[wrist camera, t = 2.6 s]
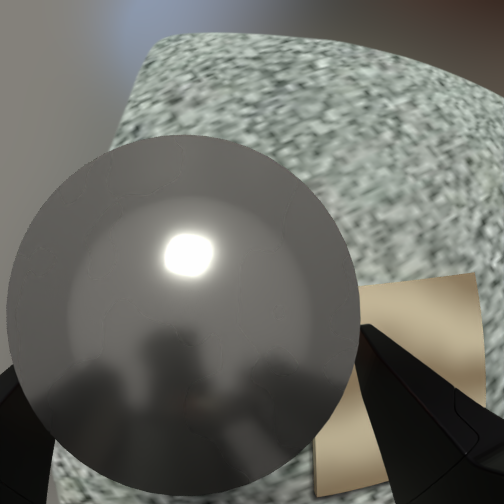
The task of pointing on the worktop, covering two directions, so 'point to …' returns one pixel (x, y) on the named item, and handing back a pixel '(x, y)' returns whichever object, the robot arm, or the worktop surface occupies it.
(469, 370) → the coaster
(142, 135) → the worktop surface
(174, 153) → the tin
